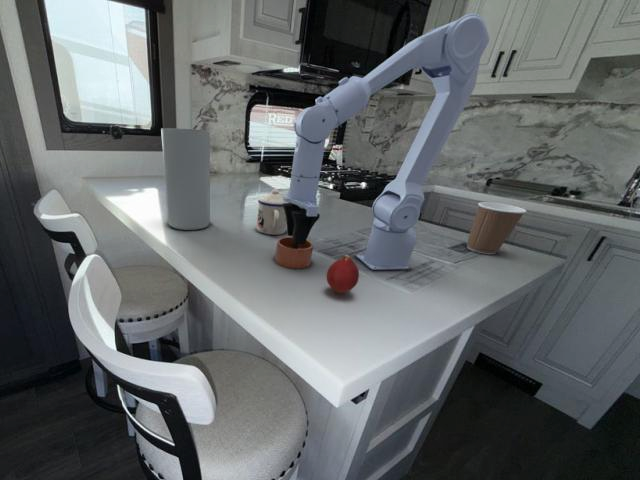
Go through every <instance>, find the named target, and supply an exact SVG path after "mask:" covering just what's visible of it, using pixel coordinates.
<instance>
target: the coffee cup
mask: <svg viewBox="0 0 640 480" xmlns="http://www.w3.org/2000/svg"><path fill="white" fill-rule="evenodd" d="M477 205H478V207H477V210H476V213H475V216H474V220H473V222H472V227H471V230H470V233H469V236H468V238H467V242H466V243H467V244H466V248H467V249H468V250H470V251H472V252H475V253H478V254H483V255H495V254H497V252H498V251H499V250H500V249H501V247H502V246H503V244H504V243H505V242H506V240H507V238H508V237H509V236H510V234H511V233H512V231H513V230H514V229H515V227H516V226H517V224H518V223H519V222H520V220H521V219H522V217H523V214H526V213H527V210H526V209H525V208H522V207H520V206H515V205H510V204H507V203H501V202H492V201H491V202H490V201H480V202H478V203H477Z"/></svg>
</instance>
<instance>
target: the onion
mask: <svg viewBox="0 0 640 480" xmlns="http://www.w3.org/2000/svg"><path fill="white" fill-rule="evenodd" d="M359 271H360V270H359V267H357V265H356V262H354V261H353V259H351V257H350V255H348V254H344V255H343V256H342V258H340V259H337V260H335V261H334V262H333V263H332V264H331V265H330V266H329V267H328V269H327V272H326V282H327V284H328V285H329V287H330V288H331V289H332V290H333V291H334V292H335V294H338V295H341V294H343V293H347V292H349V291H351V290H353V289H354V288H355V287H356V286H357V285H358V282H359V277H360V272H359Z"/></svg>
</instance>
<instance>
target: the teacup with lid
mask: <svg viewBox="0 0 640 480" xmlns="http://www.w3.org/2000/svg"><path fill="white" fill-rule="evenodd" d="M283 197H284V195H282V194H281V193H280V191H279V189H277V188H275V189H274V188H273V189H272V190H271V192H270V193H267V194H265V195H261V196H260V197H258V200H257V202H258V206H257V219H256V220H257V221H256V230H257V231H258V232H259V233H261V234H264V235H269V236H278V235H283V234H285V233H286V232H287V222H286V215H285V211H284V208H283V203H289V202H285V201H283Z"/></svg>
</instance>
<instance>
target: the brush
mask: <svg viewBox="0 0 640 480" xmlns="http://www.w3.org/2000/svg"><path fill="white" fill-rule="evenodd" d="M291 237H292V243H291V247H289V248H294V249H301V248H300V247H298V244H295V242H294V229H293V236H291Z"/></svg>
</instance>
